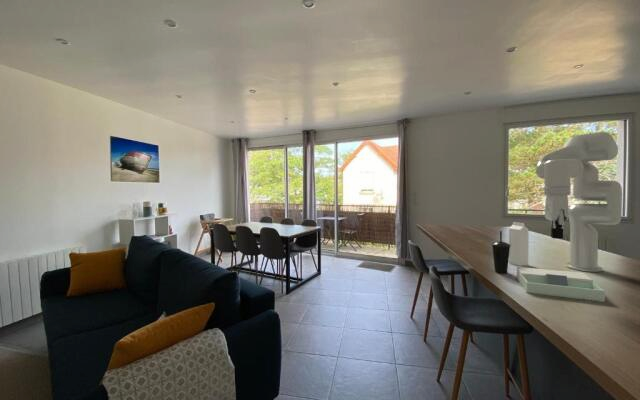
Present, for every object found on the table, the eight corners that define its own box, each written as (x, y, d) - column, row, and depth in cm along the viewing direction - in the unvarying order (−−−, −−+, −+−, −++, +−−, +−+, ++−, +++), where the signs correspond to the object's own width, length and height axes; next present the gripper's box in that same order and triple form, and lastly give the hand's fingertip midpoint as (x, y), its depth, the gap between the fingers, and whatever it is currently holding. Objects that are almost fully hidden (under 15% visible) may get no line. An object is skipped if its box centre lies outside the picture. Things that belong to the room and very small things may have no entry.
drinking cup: (514, 274, 122) (514, 232, 121) (495, 274, 124) (495, 232, 123) (506, 269, 130) (505, 229, 129) (488, 269, 131) (488, 229, 130)
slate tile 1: (545, 274, 106) (546, 273, 104) (564, 276, 103) (566, 275, 102) (546, 284, 105) (547, 284, 103) (566, 287, 102) (568, 286, 100)
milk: (520, 266, 134) (520, 223, 133) (508, 263, 140) (508, 222, 139) (528, 264, 136) (528, 222, 135) (517, 261, 142) (516, 221, 141)
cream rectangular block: (516, 277, 118) (516, 267, 118) (582, 284, 108) (582, 272, 108) (521, 284, 110) (521, 273, 110) (592, 292, 100) (592, 279, 100)
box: (521, 285, 110) (521, 275, 110) (593, 292, 100) (593, 282, 100) (526, 292, 102) (526, 282, 102) (604, 302, 92) (604, 290, 92)
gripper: (539, 191, 110) (539, 234, 111) (550, 192, 97) (550, 241, 98) (562, 190, 107) (562, 235, 108) (578, 191, 94) (577, 242, 95)
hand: (557, 238), depth 103 cm, fingers closed
